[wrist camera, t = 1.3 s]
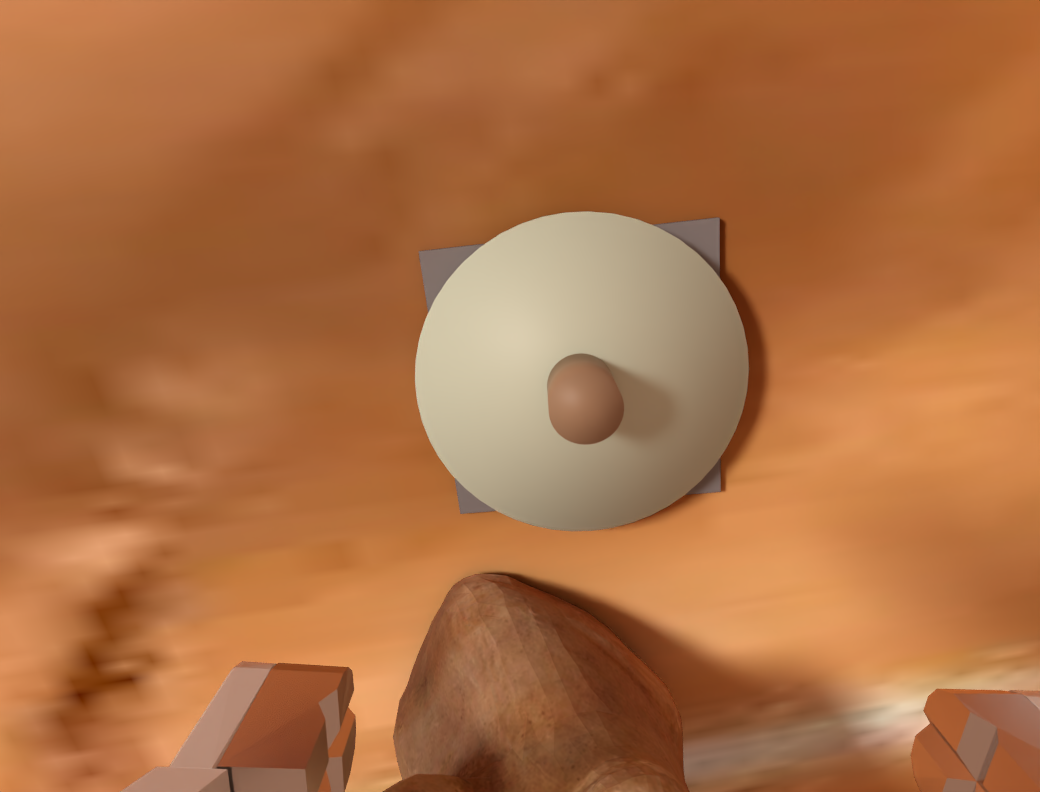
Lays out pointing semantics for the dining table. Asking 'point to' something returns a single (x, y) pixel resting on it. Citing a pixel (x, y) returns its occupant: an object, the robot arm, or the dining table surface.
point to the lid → (581, 371)
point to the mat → (446, 261)
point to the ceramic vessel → (532, 701)
